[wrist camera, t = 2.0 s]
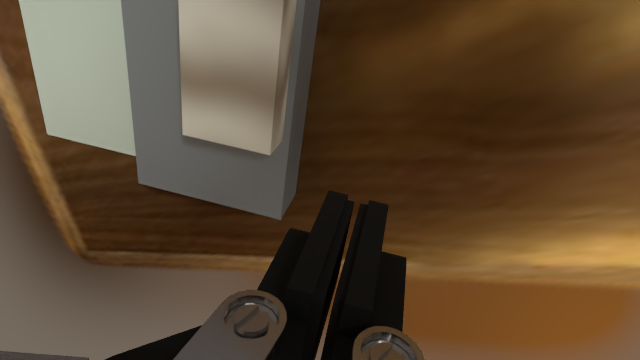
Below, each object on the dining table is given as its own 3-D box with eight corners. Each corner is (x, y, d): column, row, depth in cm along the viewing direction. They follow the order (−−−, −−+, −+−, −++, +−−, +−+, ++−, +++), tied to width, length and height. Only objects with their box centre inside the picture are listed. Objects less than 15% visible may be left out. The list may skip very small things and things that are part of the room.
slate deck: (149, -152, 25) (104, -172, 21) (337, -127, 23) (321, -144, 20) (166, 162, 35) (138, 183, 32) (295, 194, 34) (280, 219, 30)
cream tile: (200, -20, 24) (177, -19, 21) (296, -3, 23) (283, 0, 21) (201, 122, 28) (182, 134, 26) (282, 140, 27) (269, 155, 25)
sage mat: (-16, -173, 26) (-19, -174, 26) (149, -152, 25) (147, -152, 24) (49, 133, 37) (47, 134, 37) (166, 162, 35) (165, 163, 35)
